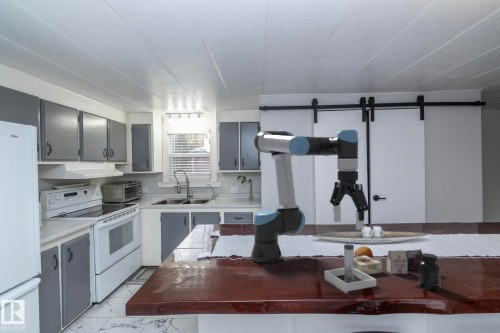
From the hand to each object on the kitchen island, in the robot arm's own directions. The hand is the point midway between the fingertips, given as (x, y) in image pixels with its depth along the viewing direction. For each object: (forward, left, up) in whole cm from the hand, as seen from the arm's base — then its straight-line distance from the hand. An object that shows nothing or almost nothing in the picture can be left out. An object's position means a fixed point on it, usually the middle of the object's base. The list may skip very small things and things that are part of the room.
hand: (347, 225), depth 112 cm
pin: (0, 0, -22) cm, 22 cm away
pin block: (-8, +14, -23) cm, 27 cm away
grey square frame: (0, 0, -23) cm, 23 cm away
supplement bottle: (+13, +26, -23) cm, 37 cm away
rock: (-2, +34, -23) cm, 41 cm away
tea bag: (-1, +24, -23) cm, 33 cm away
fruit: (-19, +23, -23) cm, 37 cm away
